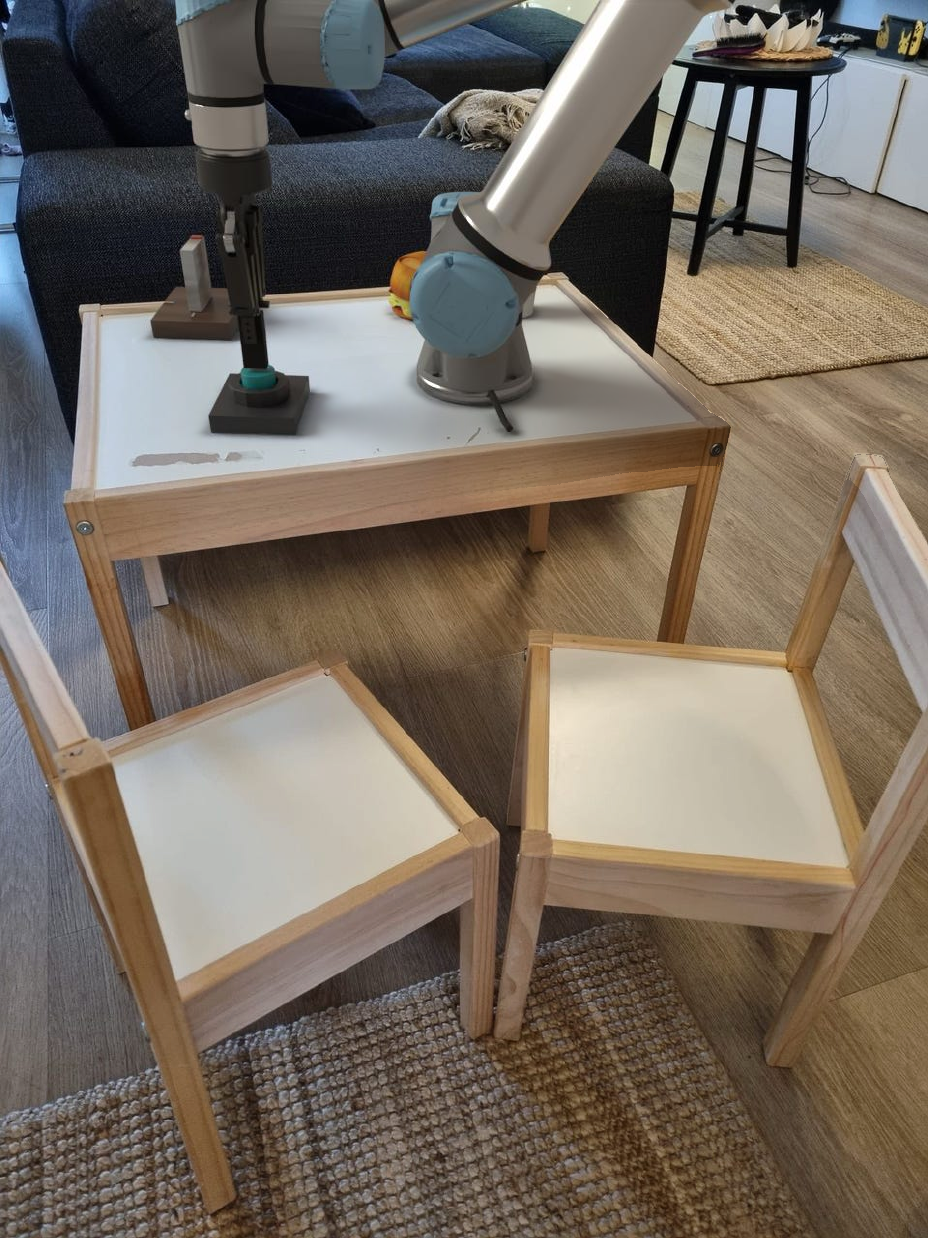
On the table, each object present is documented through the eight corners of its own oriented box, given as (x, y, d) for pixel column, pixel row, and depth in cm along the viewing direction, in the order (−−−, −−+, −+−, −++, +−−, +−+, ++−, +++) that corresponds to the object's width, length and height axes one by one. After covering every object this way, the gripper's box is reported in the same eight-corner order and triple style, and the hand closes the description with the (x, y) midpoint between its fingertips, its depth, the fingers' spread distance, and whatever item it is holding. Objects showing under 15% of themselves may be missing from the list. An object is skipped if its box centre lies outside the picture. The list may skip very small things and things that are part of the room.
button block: (295, 435, 108) (292, 403, 106) (210, 432, 108) (205, 401, 106) (310, 391, 118) (307, 361, 115) (232, 389, 118) (228, 359, 115)
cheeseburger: (459, 300, 145) (460, 241, 137) (451, 341, 138) (452, 281, 131) (395, 295, 145) (392, 236, 137) (385, 336, 139) (381, 276, 131)
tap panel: (231, 340, 130) (228, 321, 128) (153, 337, 130) (149, 319, 128) (250, 305, 141) (248, 287, 139) (178, 302, 141) (175, 285, 139)
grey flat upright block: (201, 311, 131) (192, 248, 126) (189, 311, 131) (179, 248, 126) (212, 296, 136) (203, 234, 131) (200, 295, 136) (191, 234, 131)
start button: (273, 391, 109) (271, 377, 108) (239, 390, 109) (237, 376, 108) (278, 377, 112) (277, 363, 111) (245, 376, 112) (244, 362, 111)
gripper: (209, 132, 100) (235, 343, 114) (179, 160, 90) (212, 388, 104) (279, 135, 100) (296, 345, 114) (256, 163, 90) (278, 390, 104)
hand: (256, 365), depth 109 cm, fingers closed
